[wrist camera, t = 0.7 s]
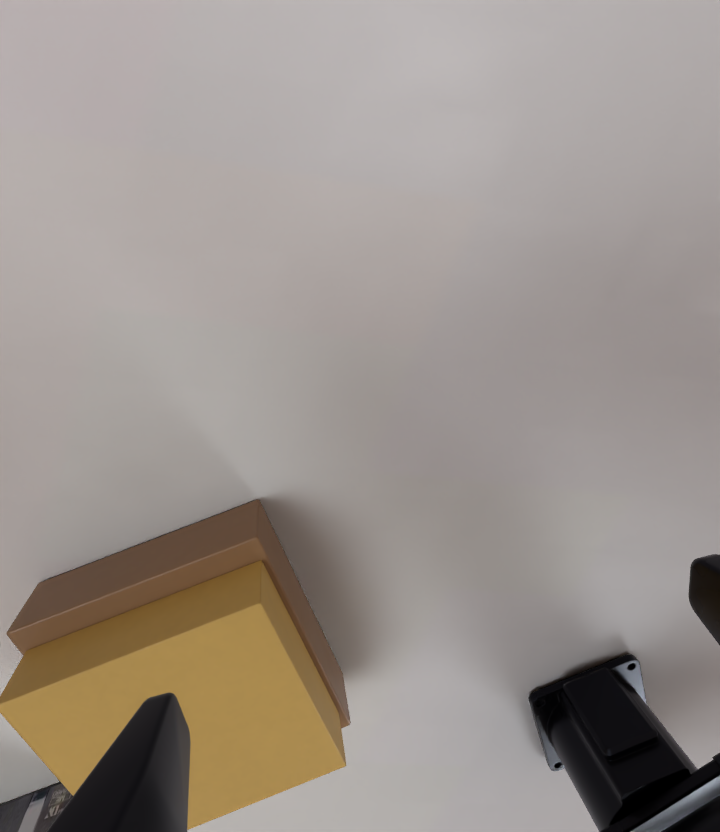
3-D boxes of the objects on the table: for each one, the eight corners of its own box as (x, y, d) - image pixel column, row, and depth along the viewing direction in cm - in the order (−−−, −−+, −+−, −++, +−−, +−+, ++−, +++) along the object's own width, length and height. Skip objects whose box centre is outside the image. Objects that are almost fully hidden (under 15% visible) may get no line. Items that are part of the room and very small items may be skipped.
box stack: (342, 673, 27) (360, 779, 22) (157, 746, 26) (130, 872, 21) (258, 498, 23) (256, 577, 17) (37, 582, 22) (-32, 689, 17)
